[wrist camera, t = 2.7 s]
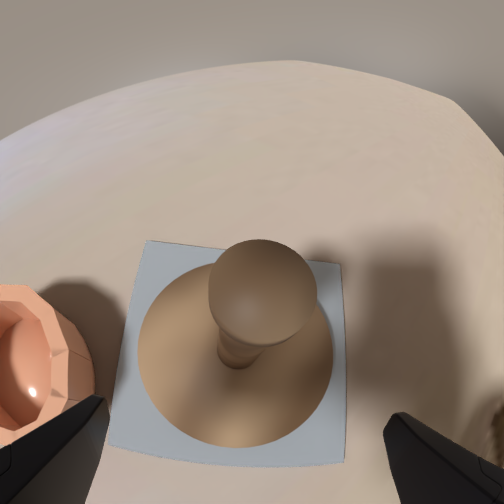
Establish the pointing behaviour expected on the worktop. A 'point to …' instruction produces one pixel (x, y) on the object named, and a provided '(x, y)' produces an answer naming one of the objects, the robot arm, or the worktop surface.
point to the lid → (238, 347)
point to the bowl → (38, 363)
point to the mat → (192, 450)
